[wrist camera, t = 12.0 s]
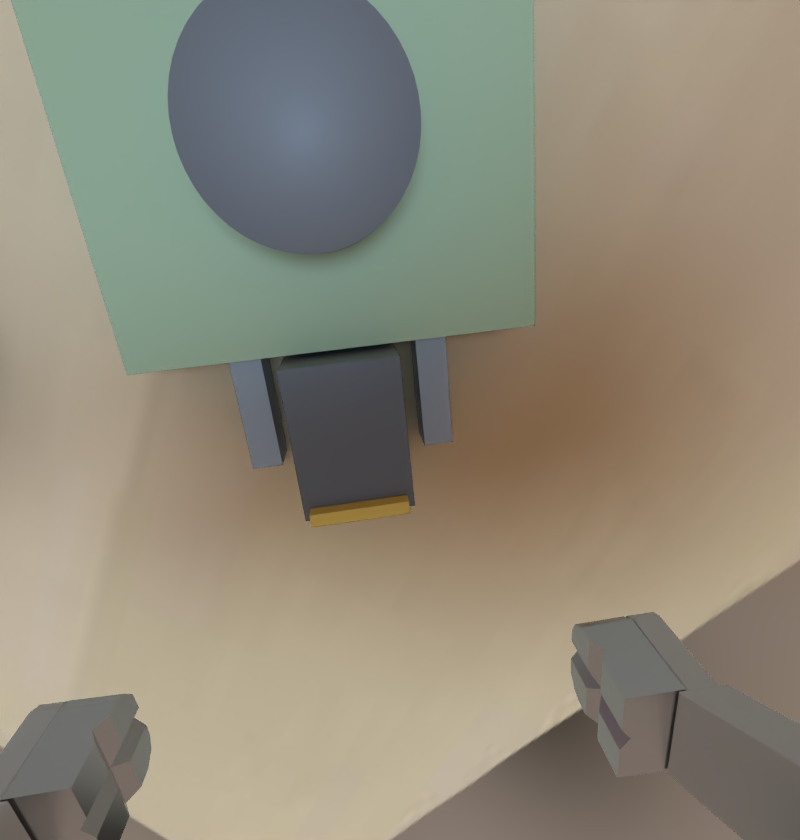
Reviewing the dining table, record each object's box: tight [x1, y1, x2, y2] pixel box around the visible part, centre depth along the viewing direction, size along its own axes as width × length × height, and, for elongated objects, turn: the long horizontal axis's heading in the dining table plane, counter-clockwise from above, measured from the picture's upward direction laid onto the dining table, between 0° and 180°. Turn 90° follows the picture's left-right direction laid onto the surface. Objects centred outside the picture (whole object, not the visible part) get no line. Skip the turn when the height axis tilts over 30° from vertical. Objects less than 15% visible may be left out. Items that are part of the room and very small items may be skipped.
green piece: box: [11, 0, 535, 469], centre depth 20 cm, size 18×20×7 cm
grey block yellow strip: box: [276, 343, 415, 527], centre depth 23 cm, size 5×7×7 cm
